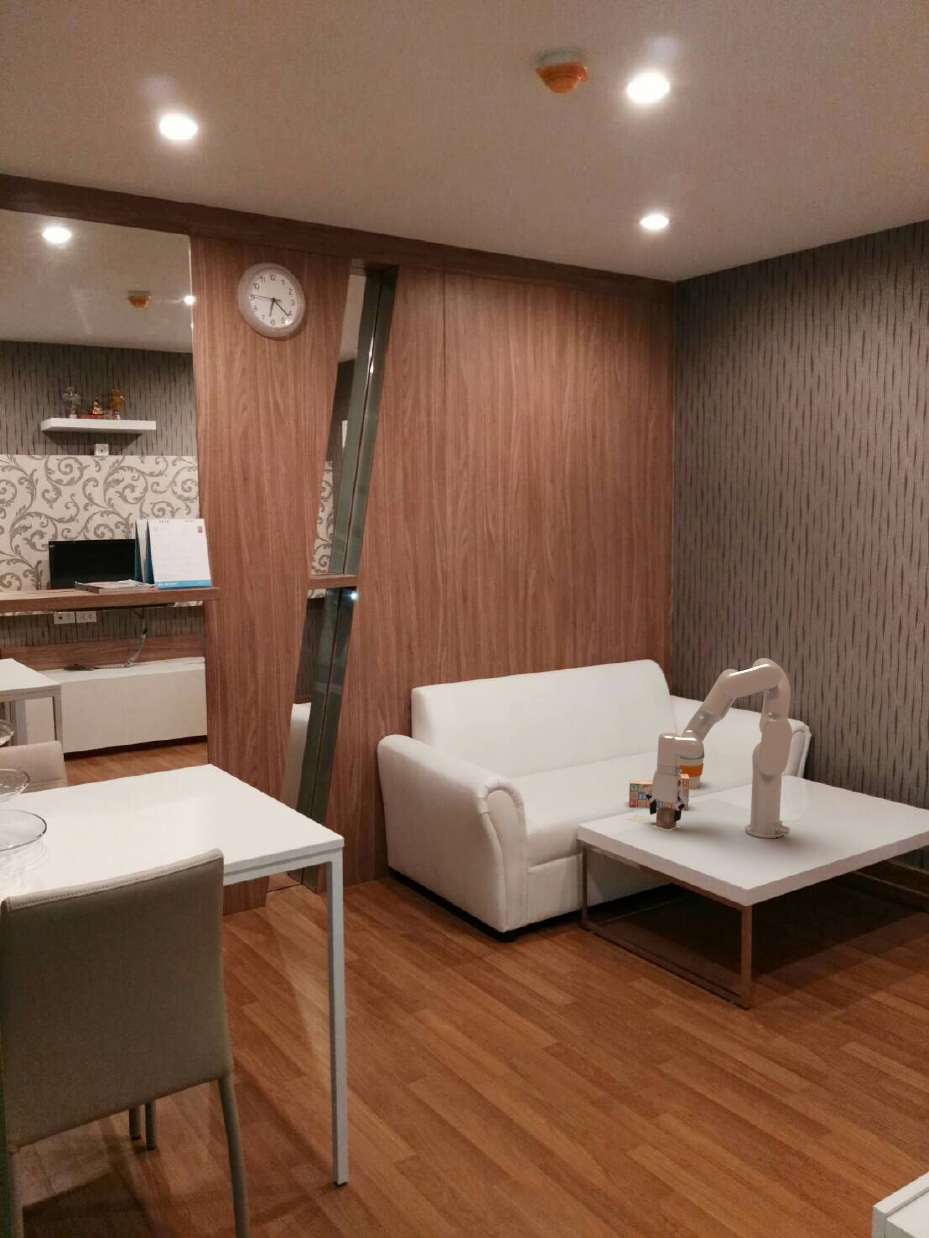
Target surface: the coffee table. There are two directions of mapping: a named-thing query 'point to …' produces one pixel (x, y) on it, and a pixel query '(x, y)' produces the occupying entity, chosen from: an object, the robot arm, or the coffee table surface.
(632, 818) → the mat
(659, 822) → the walnut block
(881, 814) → the coffee table surface
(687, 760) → the reusable coffee cup
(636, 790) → the stack of blocks
